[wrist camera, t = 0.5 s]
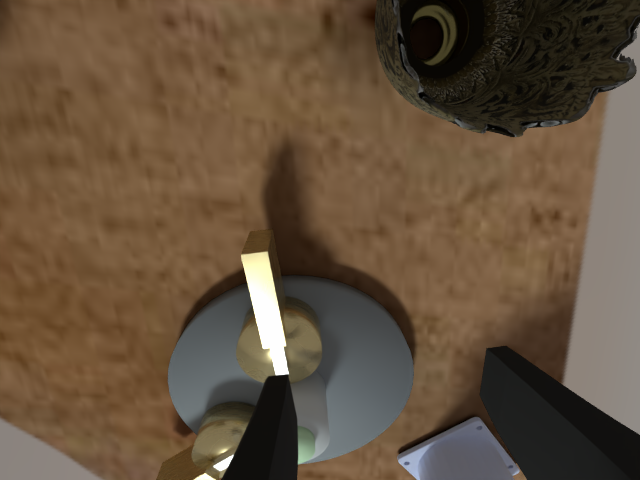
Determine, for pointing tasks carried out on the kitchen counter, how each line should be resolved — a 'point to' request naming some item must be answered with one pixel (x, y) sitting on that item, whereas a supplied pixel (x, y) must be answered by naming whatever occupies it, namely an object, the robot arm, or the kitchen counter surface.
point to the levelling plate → (343, 361)
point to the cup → (508, 58)
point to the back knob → (210, 444)
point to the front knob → (275, 319)
